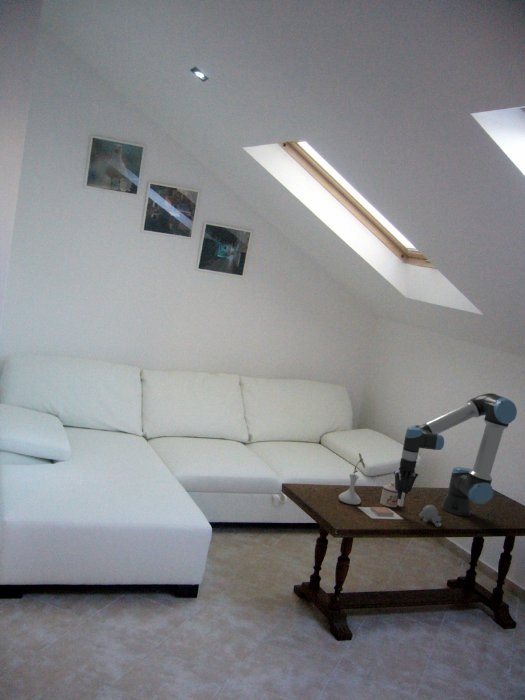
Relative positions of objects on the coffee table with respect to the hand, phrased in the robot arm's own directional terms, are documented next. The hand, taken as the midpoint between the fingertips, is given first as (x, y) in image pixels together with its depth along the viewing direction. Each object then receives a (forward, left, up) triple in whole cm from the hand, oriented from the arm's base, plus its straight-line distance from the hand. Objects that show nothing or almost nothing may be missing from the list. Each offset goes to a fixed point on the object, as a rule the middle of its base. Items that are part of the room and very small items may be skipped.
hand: (399, 505), depth 337 cm
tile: (+5, 0, -4) cm, 6 cm away
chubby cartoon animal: (-12, +10, -5) cm, 17 cm away
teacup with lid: (-4, -13, -5) cm, 15 cm away
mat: (+10, 0, -5) cm, 11 cm away
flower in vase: (+19, -15, -5) cm, 25 cm away
